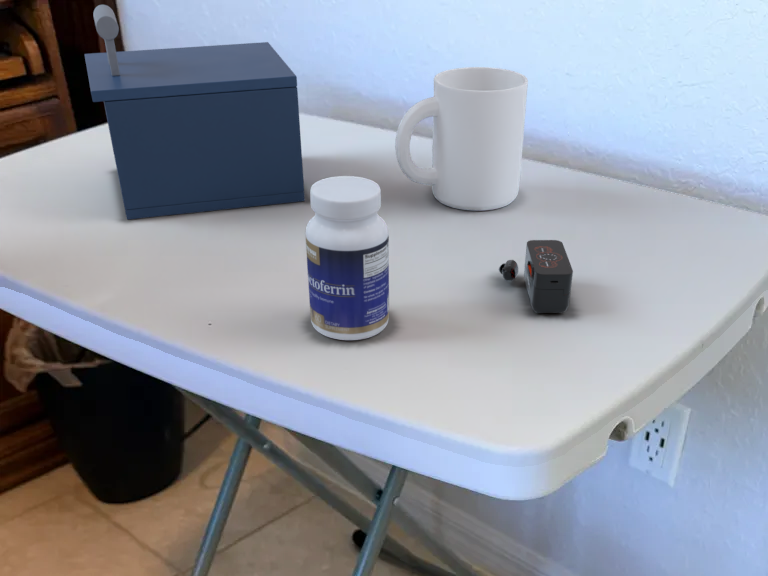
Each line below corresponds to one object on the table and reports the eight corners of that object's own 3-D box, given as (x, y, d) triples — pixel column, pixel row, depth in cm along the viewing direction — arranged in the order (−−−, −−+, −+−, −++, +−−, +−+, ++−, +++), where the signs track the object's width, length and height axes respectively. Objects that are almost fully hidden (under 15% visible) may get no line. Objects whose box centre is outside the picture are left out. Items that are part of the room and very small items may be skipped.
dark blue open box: (127, 220, 83) (104, 102, 77) (117, 172, 93) (96, 63, 86) (304, 201, 87) (297, 87, 80) (277, 157, 96) (268, 52, 90)
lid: (92, 102, 76) (78, 28, 73) (86, 63, 86) (73, -4, 83) (297, 86, 80) (292, 15, 77) (268, 51, 90) (263, -13, 87)
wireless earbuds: (555, 275, 74) (560, 235, 72) (569, 316, 69) (574, 274, 67) (497, 275, 74) (500, 236, 72) (506, 316, 69) (510, 274, 67)
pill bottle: (295, 329, 67) (284, 190, 61) (342, 300, 71) (336, 166, 64) (359, 351, 65) (354, 209, 58) (404, 319, 68) (405, 183, 62)
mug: (408, 221, 83) (408, 97, 76) (383, 189, 89) (381, 73, 82) (532, 207, 86) (542, 87, 79) (499, 177, 92) (507, 63, 85)
